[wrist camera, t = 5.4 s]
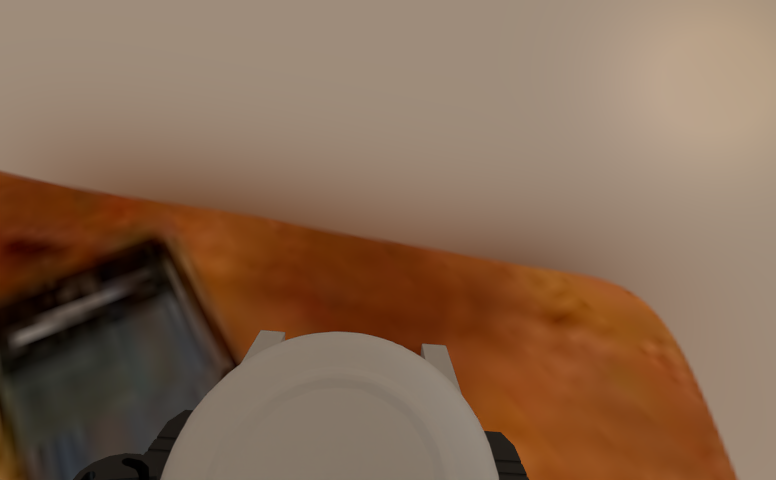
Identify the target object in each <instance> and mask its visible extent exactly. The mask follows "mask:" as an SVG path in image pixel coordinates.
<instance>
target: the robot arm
mask: <svg viewBox="0 0 776 480" xmlns="http://www.w3.org/2000/svg"><path fill="white" fill-rule="evenodd" d="M284 341H285V332H277V331H265V330H261V331H260V332H259V334H258V336H257V337H256V339H255V341H254V343H253V344H252V346H251V348H250V349H249V351H248V353H247V354H246V356H245V358H244V359H243V361H242V363H243V362H244V361H246V360H247V359H249V358H251V357H252V356H254V355H256V354H257V353H259V352H260V351H262V350H265V349H267V348H269V347H271V346H273V345H275V344H278V343H281V342H284ZM420 357H422V358H423V359H425V360H426V361H428V362H429V363H430V364H432V365H433V366H434V367H436V368H437V369H438V370H439V371H440V372H441V373H442V374H444V375H445V376H446V377H447V378H448V379H449V381H450V382H451V383H452V384H453V385H454V386H455V387H456V388H457V390H458V391H459V392H460V394H461V391H460V388H459V385H458V382H457V378H456V375H455V372H454V369H453V366H452V363H451V360H450V357H449V354H448V351H447V348H446V346H445V345H433V344H422V348H421V356H420ZM461 395H462V394H461ZM192 412H193V410H185V411H183V412H182V413H180V414H179V415H177V416H176V417H174V418H173V419H171V420H170V421H168V422H167V424H166V425H165V426H164V428H163V429H162V431H161V432H160V433H159V435H158V436H157V439H155V440H154V441H153V443H152V444H151V446H150V447H149V448H148V452H145V454H144V455H141V454H128V453H125V454H119V455H114V456H109V457H106V458H104V459H101V460H99V461H96V462H94V463H92V464H90V465H89V466H87V467H86V468H84V469H83V470H81V471H80V472H79V473H78V474H77V475H76V477H75V478H74V479H73V480H160V479H161V476H162V473H163V470H164V467H165V465H166V462H167V460H168V457H169V455H170V452H171V450H172V448H173V445H174V444H175V442H176V440H177V438H178V436H179V434H180V432H181V430H182V429H183V427H184V426H185V424H186V422H187V420H188V418H189V416H190V415H191V413H192ZM484 433H485V435H486V437H487V440H488V442H489V444H490V448H491V451H492V455H493V458H494V462H495V465H496V469H497V472H498V476H499V480H529V478H528V477H527V476H526V475H527V474H526V472H525V469H524V467H523V465H522V464H521V460H520V458H519V456H518V453H517V451H516V449H515V447H514V445H513V444H512V443H511V442H510V441H509V440H508V439H507V438H506V437H505V436H504V435H503V434H502V433H501V432H490V431H484Z"/></svg>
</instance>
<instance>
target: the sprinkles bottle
mask: <svg viewBox="0 0 776 480" xmlns="http://www.w3.org/2000/svg"><path fill="white" fill-rule="evenodd" d="M160 480H499V476H498V472H497V469H496V465H495V462H494V458H493V455H492V451H491V448H490V444H489V442H488V440H487V437H486V435H485V433H484V431H483V429H482V427H481V425H480V423H479V420H478V419H477V417H476V415H475V414H474V412H473V411H472V409H471V407H470V406H469V404H468V403H467V402H466V400H465V399H464V397H463V396H462V395H461V394H460V392H459V391H458V390H457V388H456V387H455V386H454V385H453V384H452V383H451V382H450V381H449V379H448V378H447V377H446V376H445V375H444V374H442V373H441V372H440V371H439V370H438V369H437V368H436V367H434V366H433V365H432V364H430V363H429V362H428V361H426V360H425V359H423V358H422V357H420V356H419V355H417V354H416V353H414V352H412V351H410V350H408V349H406V348H405V347H403V346H401V345H398V344H395V343H394V342H392V341H389V340H385V339H382V338H379V337H375V336H372V335H367V334H362V333H352V332H324V333H314V334H309V335H304V336H299V337H296V338H292V339H288V340H286V341H284V342H281V343H278V344H275V345H273V346H271V347H269V348H267V349H265V350H262V351H260V352H259V353H257V354H256V355H254V356H252V357H251V358H249V359H247V360H246V361H244V362H243V363H241V364H240V365H239V366H237V367H236V368H235V369H233V370H232V371H231V372H229V373H228V374H227V375H226V376H225V377H224V378H223V379H222V380H221V381H220V382H219V383H218V384H217V385H216V386H215V387H214V388H213V389H212V390H211V391H210V392H209V393H208V394H207V395H206V396H205V397H204V398H203V400H202V401H201V402H200V403H199V405H198V406H197V407H196V408H195V409H194V411H193V412H192V413H191V415H190V416H189V418H188V420H187V422H186V424H185V426H184V427H183V429H182V430H181V432H180V434H179V436H178V438H177V440H176V442H175V444H174V445H173V448H172V450H171V452H170V455H169V457H168V460H167V462H166V465H165V467H164V470H163V473H162V476H161V479H160Z"/></svg>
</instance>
